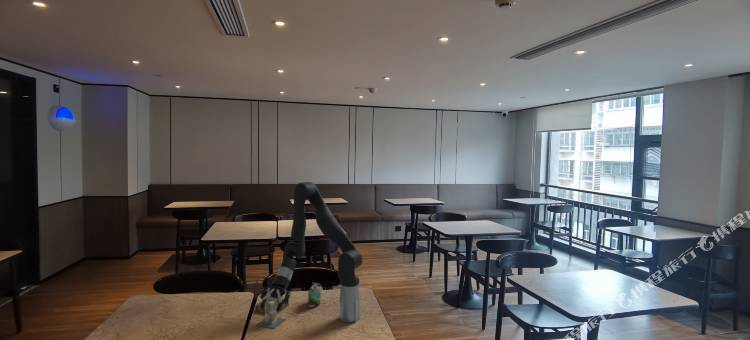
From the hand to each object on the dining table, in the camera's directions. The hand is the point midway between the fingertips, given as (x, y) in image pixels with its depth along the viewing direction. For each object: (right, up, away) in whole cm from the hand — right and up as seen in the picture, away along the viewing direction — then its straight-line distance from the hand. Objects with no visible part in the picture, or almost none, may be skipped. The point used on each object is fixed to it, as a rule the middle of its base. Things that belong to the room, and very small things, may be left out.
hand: (269, 310), depth 179 cm
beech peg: (0, -6, +2) cm, 6 cm away
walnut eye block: (-4, -6, +18) cm, 19 cm away
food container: (+18, -6, +23) cm, 30 cm away
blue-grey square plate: (0, -7, +2) cm, 7 cm away
